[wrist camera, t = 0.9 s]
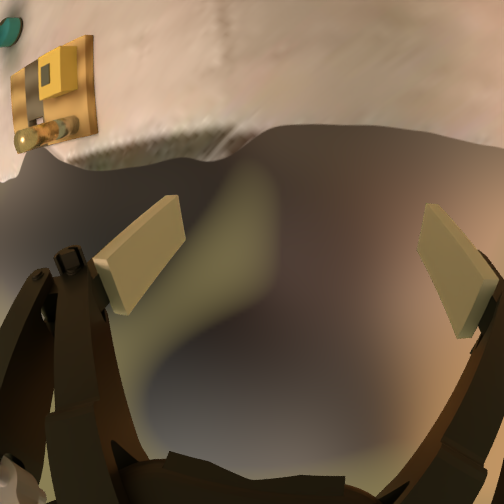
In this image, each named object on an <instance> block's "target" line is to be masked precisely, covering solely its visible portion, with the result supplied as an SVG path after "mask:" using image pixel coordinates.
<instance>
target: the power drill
mask: <svg viewBox="0 0 504 504" xmlns="http://www.w3.org/2000/svg"><path fill="white" fill-rule="evenodd" d="M21 30H22V20H21V18H5V19H4V20H2V21H1V23H0V47H9V46H12V45H13V44H14V43H15V42H16V41H17V40H18V38H19V36H20V33H21Z"/></svg>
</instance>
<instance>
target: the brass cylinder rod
mask: <svg viewBox="0 0 504 504" xmlns="http://www.w3.org/2000/svg"><path fill="white" fill-rule="evenodd" d="M79 127H80V123H79V119H78V118H77V117H76V116H75V115H72V116H68V117H64V118H60V119H56V120H52V121H48V122H45V123H41V124H38V125H35V126H31V127H28V128H25V129H22V130H19V131H17V132H16V134H15V136H14V145H15V148H16V150H17V152H18V153H23V152H26V151H28V150H31V149H33V148H36V147H38V146H41V145H44V144H47V143H49V142H52V141H55V140H58V139H61V138H64V137H67V136H70V135H73V134H76V133H77V132H78V130H79Z"/></svg>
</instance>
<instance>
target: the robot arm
mask: <svg viewBox="0 0 504 504" xmlns="http://www.w3.org/2000/svg"><path fill="white" fill-rule="evenodd" d="M185 240H186V238H185V232H184V227H183V221H182V216H181V210H180V205H179V198H178V195H166V196H165V197H163V198H162V199H161V200H160V201H158V202H157V203H156V204H155V205H153V206H152V207H151V208H150V209H149V210H147V211H146V212H145V213H143V214H142V215H141V216H140V217H139V218H138V219H136V220H135V221H134V222H133V223H132V224H130V225H129V226H128V227H127V228H126V229H125V230H123V231H122V232H121V233H120V234H119V235H118V236H117V237H115V238H114V239H112V240H111V241H110V242H109V243H108V244H107V245H106V246H105V247H103V248H102V249H101V251H99V252H98V253H97V254H96V255H95V256H94V257H92V258H91V259H90V260H89V261H88V262H87V263H86V260H85V257H84V254H83V252H82V249H81V246H79V245H72V246H68V247H66V248H64V249H62V250H60V251H59V252H58V253H57V254H56V255H55V256H54V261H55V263H56V265H57V268H58V271H59V273H60V276H58V277H52V274H51V273H50V270H49V268H41V269H37V270H35V271H34V272H33V273H32V274H31V275H30V276H29V277H28V278H27V280H26V281H25V283H24V285H23V286H22V288H21V290H20V292H19V294H18V295H17V297H16V299H15V300H14V302H13V304H12V306H11V308H10V310H9V312H8V314H7V316H6V318H5V320H4V322H3V324H2V326H1V328H0V504H45V503H46V500H47V499H46V494H45V492H44V491H43V490H42V489H40V488H39V486H38V485H39V482H40V479H41V474H42V469H43V463H44V455H45V445H46V443H47V450H48V459H49V465H50V471H51V477H52V482H53V487H54V491H55V496H56V500H54V501H51V502H49V503H46V504H473V502H474V500H475V498H476V497H477V495H478V493H479V491H480V490H481V488H482V486H483V484H484V482H485V479H486V477H487V469H485V468H484V462H485V460H486V458H487V455H488V454H489V451H490V449H491V447H492V445H493V442H494V440H495V438H496V435H497V433H498V430H499V428H500V425H501V423H502V420H503V417H504V279H503V278H502V277H501V275H500V274H499V272H498V271H497V270H496V268H495V267H494V265H493V264H491V261H490V260H489V259H488V257H487V256H486V255H484V254H483V253H482V252H481V251H479V250H477V249H476V248H475V246H474V245H473V244H472V243H471V241H470V240H469V239H468V238H467V236H466V235H465V234H464V233H463V232H462V231H461V229H460V228H459V227H458V226H457V225H456V224H455V222H454V221H453V220H452V219H451V218H450V217H449V215H448V214H447V213H446V212H445V211H444V210H443V209H442V208H441V207H440V206H439V205H438V204H430V203H426V206H425V212H424V217H423V223H422V228H421V232H420V237H419V242H418V246H417V252H418V253H419V255H420V257H421V259H422V261H423V263H424V265H425V267H426V269H427V271H428V273H429V275H430V277H431V279H432V282H433V283H434V286H435V288H436V290H437V292H438V294H439V296H440V299H441V301H442V303H443V306H444V308H445V310H446V313H447V315H448V318H449V320H450V323H451V325H452V328H453V330H454V333H455V335H456V338H457V339H461V338H472V336H473V334H474V332H475V331H476V329H477V327H479V329H480V331H481V334H480V336H479V338H478V340H477V342H476V344H475V345H474V347H473V348H472V350H471V352H470V354H471V356H470V359H469V361H468V363H467V365H466V367H465V369H464V371H463V373H462V375H461V377H460V380H459V381H458V384H457V386H456V387H455V389H454V391H453V393H452V395H451V397H450V398H449V400H448V402H447V404H446V406H445V407H444V409H443V411H442V412H441V414H440V416H439V417H438V419H437V421H436V422H435V424H434V425H433V427H432V428H431V430H430V432H429V433H428V435H427V436H426V438H425V439H424V441H423V442H422V443H421V445H420V446H419V448H418V449H417V451H416V452H415V453H414V455H413V456H412V458H411V459H410V460H409V461H408V463H407V464H406V465H405V467H404V468H403V469H402V470H401V471H400V473H399V474H398V475H397V476H396V477H395V478H394V479H393V480H392V481H391V482H390V483H389V484H388V485H387V486H386V487H385V488H384V489H383V490H382V491H381V492H380V493H379V494H378V495H377V496H376V497H374V496H372V495H371V494H369V493H368V492H366V491H364V490H361V489H359V488H356V487H353V486H350V485H346V484H345V476H310V475H297V476H291V477H283V478H274V479H264V480H250V479H247V478H244V477H242V476H240V475H237V474H235V473H233V472H230V471H228V470H226V469H224V468H221V467H219V466H217V465H215V464H213V463H211V462H209V461H205V460H201V459H197V458H192V457H189V456H185V455H182V454H178V453H175V452H171V451H169V453H168V456H167V458H166V459H153V460H149V458H148V456H147V455H146V453H145V452H144V450H143V448H142V446H141V444H140V442H139V439H138V437H137V434H136V430H135V427H134V424H133V421H132V418H131V414H130V411H129V408H128V404H127V401H126V397H125V394H124V389H123V386H122V382H121V378H120V373H119V369H118V365H117V360H116V356H115V351H114V346H113V341H112V335H111V330H110V324H109V318H108V313H107V311H106V309H105V307H106V306H107V305H108V304H109V302H110V304H111V307H112V309H113V311H114V313H116V314H121V315H127V316H128V315H129V314H130V312H131V311H132V310H133V308H134V307H135V305H136V304H137V303H138V301H139V300H140V299H141V297H142V296H143V295H144V293H145V292H146V291H147V289H148V288H149V287H150V285H151V284H152V283H153V281H154V280H155V279H156V277H157V276H158V275H159V273H160V272H161V271H162V269H163V268H164V267H165V265H166V264H167V263H168V262H169V260H170V259H171V258H172V256H173V255H174V254H175V253H176V251H177V250H178V249H179V248H180V246H181V245H182V244H183V243H184V241H185ZM41 312H42V314H43V316H44V317H45V319H44V321H43V319H42V315H41ZM53 391H54V394H55V412H52V413H50V407H51V402H52V396H53ZM491 504H504V460H503V464H502V468H501V472H500V476H499V480H498V483H497V487H496V490H495V494H494V496H493V500H492V503H491Z"/></svg>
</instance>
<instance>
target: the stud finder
mask: <svg viewBox="0 0 504 504" xmlns="http://www.w3.org/2000/svg"><path fill="white" fill-rule="evenodd" d="M38 80H39V99H40V100H45V99H50V98H56V97H58V96H61V95H63V94H66V93H69V92H71V91H74V90H77V89H78V81H77V46H59V47H57V48H55V49H53V50H52V51H50V52H48V53H46V54H44V55H43V56H41V57H39V58H38Z"/></svg>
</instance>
